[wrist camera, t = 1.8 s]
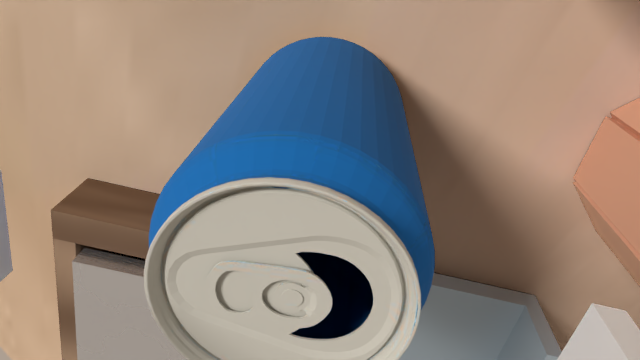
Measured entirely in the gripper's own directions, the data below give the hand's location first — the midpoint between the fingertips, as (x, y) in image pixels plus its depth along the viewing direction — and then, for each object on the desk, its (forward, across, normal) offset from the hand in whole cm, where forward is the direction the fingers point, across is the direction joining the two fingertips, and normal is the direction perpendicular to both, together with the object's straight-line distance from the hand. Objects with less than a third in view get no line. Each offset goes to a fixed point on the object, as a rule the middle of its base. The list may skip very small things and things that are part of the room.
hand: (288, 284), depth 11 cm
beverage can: (+11, 0, +1) cm, 11 cm away
